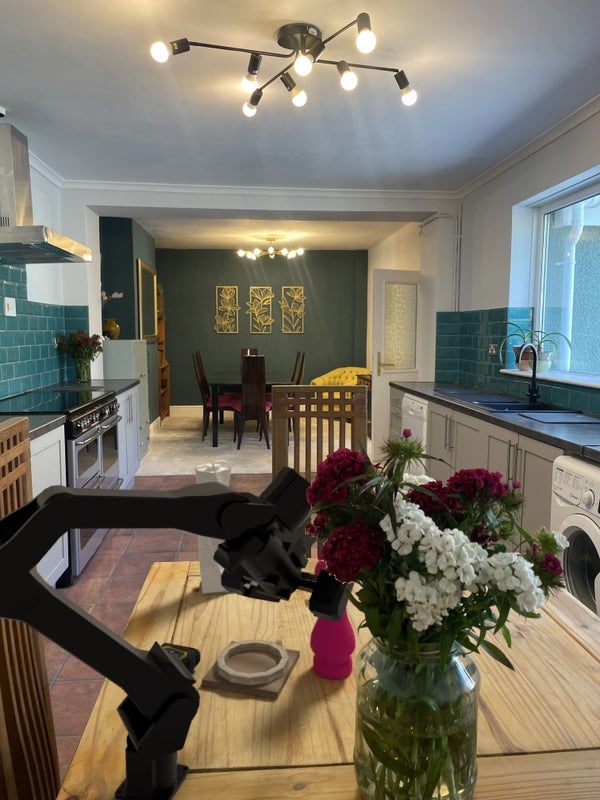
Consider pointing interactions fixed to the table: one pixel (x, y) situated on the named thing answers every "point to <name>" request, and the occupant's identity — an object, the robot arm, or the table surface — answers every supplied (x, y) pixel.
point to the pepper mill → (332, 644)
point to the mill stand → (252, 668)
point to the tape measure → (184, 654)
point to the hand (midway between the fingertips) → (306, 606)
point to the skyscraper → (206, 544)
